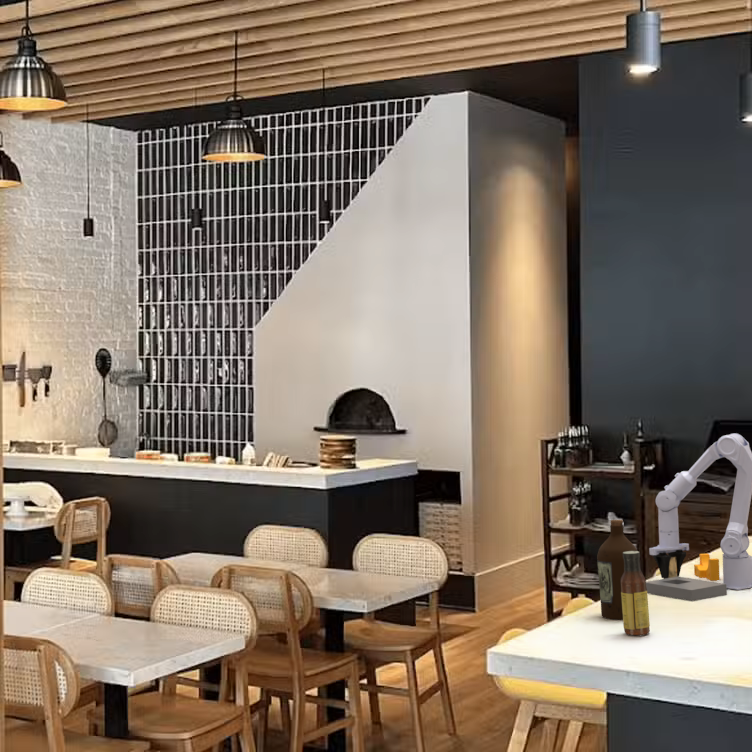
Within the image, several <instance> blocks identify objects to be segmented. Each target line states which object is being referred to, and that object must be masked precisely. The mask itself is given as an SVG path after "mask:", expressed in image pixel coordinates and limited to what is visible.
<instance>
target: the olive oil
mask: <svg viewBox="0 0 752 752" xmlns="http://www.w3.org/2000/svg"><path fill="white" fill-rule="evenodd" d="M623 523H624V520H623V519H611V520H610V525H609V529H610V531H609V532H610V535H609V536H608V538H607V539H606V540H604V542H603V543H602V544H601V545H600V546H599V549H598V552H597V555H596V559H597V562H596V563H597V574H598V585H599V586H598V587H599V596H600V597H599V598H600V611H601V617H602V618H604V619H607V620H615V621H623V611H622V597H621V577H622V575H623V573H624V559H623V552H627V551H638V549H637V548H636V547H635V545H634V544H633V543H632V542H631V541H630V540H629V539H628V538H627V537H626V536H625V534H624V524H623Z"/></svg>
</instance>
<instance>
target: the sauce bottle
mask: <svg viewBox="0 0 752 752" xmlns="http://www.w3.org/2000/svg"><path fill="white" fill-rule="evenodd" d="M640 558H641V553H640V551H638V550H637V551H627V552H623V559H624V573H623V575H622V577H621V597H622V611H623V620H622V621H623V622H622V623H623V630H624V633H625V634H626V635H627V636H634V637H637V636H640V635H641V637H642V636H646V635H648V634H650V630H651V629H650V626H651V623H650V612H649V601H648V600H649V598H648V593H647V588H646V582H647V580H646V578H645V576H644V574H643V572H642V570H641V561H640Z"/></svg>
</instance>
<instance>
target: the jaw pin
mask: <svg viewBox="0 0 752 752" xmlns="http://www.w3.org/2000/svg"><path fill="white" fill-rule="evenodd" d="M672 577H677V557H676V556H671V559H670V563H669V576H668V578H672ZM662 579H666V578H662Z"/></svg>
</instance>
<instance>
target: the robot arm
mask: <svg viewBox="0 0 752 752" xmlns="http://www.w3.org/2000/svg"><path fill="white" fill-rule="evenodd" d="M723 458H726V459H727V460H729V461H730V462H731V463H732V465H733V466H734V467H735V468H736V476H735V484H734V490H733V496H732V503H731V509H730V514H729V515H730V516H729V521H728V523H727V527H726V529H725V534H724V536H723V538H721V541H720V545H719V546H720V549H721V552H722V553H723V554H722V574H723V575H722V578H723V579H722V581H723V582H722V583H723V584H726V587H727V589H730V590H736V591H740V590H745V589H751V588H752V555H749V552H748V549H749V546H750V538H749V536H748V534H749V533H748V532H749V528H748V520H749V514H750V513H749V512H750V506H751V500H752V450H751V447H750V443H749V441H747V440H746V439H745V437H743V436H742V435H741V434H739V433H737V432H736V433H730V434H726V435H722V436H721V437H719V438H718V440H717V441H715V442H713V444H712V445H710V446H709V447H708V448H707V449H706V450H705V451H704V452H703V453H702V455H701V456H700V457H699V458H698V459H697V460H696V462H694V464H693V465H692V466H691V467H690V468H689V470H683V471H681V472H677V473H676V474H675V475H674V477H675V478H674V479H672V481H671V482H670V483H669V484H667V485H665V486H664V487H663V488H664V490H661V491H659V492H658V494H657V495H656V497H655V505H656V506H657V511H658V515H657V517H658V519H657V520H658V542H659V543H658V544H657V546H653V547H649V548H648V550H649V555H650V556H652V558H653V559H654V560H655V562H656V564H657V567H658V570H659V574H660V577H661V579H663V578H668V576H669V563H670V559H671V556H676V557H677V577H680V574H681V569H682V566H683V562H684V560H685V558H686V556H687V552H686V551H690V543H685V542H684V543H683V542H682V543H680V533H679V532H680V529H679V527H680V526H679V513H678V511H679V509H678V507H679V505H680V504H681V501H682V500H684V498H685V497H686V496H687V495H688V494H689V493H691V491H692V490H693V489H694V488H695V487H696V486H697V478H699V476H700V475H702V474H703V473H704V471H706V470H707V469H708V468H709V467H711V465H713V463H714V462H716V460H719V459H723Z"/></svg>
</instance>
